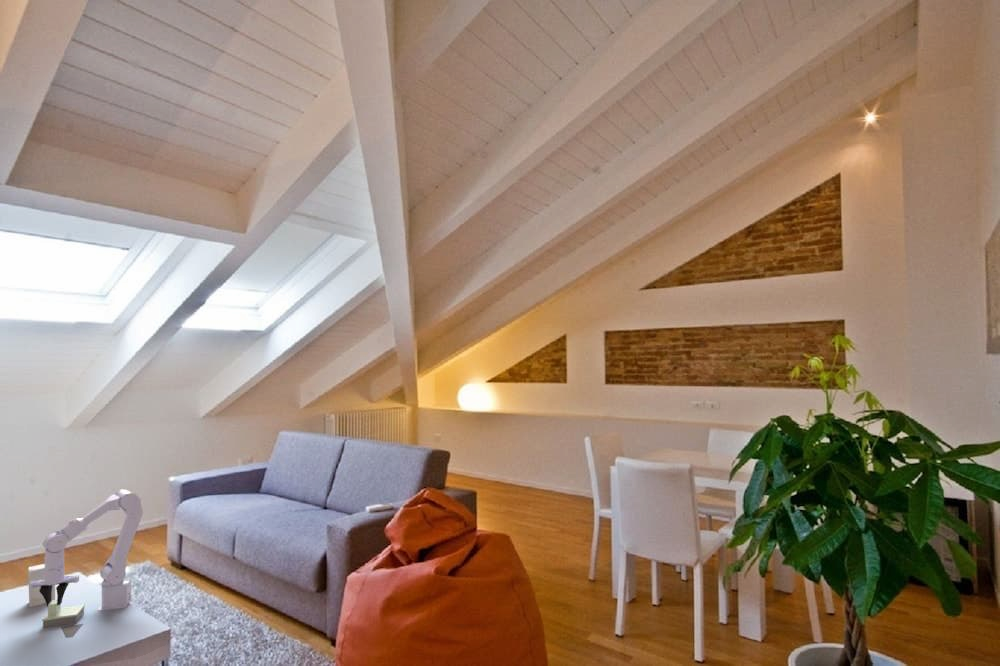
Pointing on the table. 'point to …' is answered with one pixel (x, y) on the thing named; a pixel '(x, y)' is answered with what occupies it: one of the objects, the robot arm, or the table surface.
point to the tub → (63, 620)
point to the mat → (70, 630)
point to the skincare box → (34, 594)
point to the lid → (61, 611)
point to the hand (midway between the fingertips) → (54, 604)
